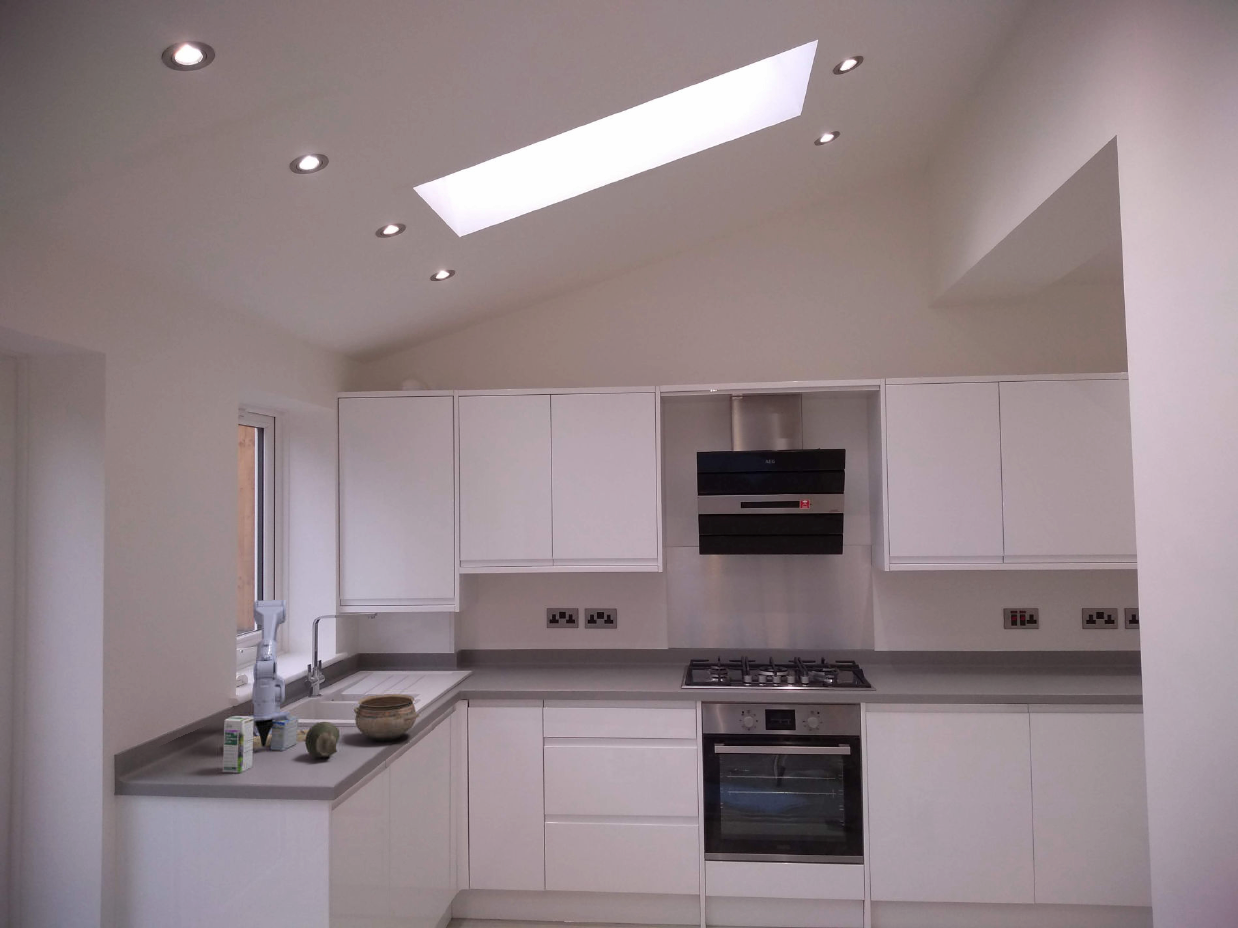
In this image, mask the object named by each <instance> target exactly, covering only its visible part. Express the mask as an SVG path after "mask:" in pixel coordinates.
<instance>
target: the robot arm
mask: <svg viewBox="0 0 1238 928" xmlns="http://www.w3.org/2000/svg"><path fill="white" fill-rule="evenodd" d="M253 619H254V622H255V624H256V625H260V626H261V640H260V641H259V642H258V643H257V647H256V656H255V657H256V658H255V662H254V664H253V672H252V674H253V675H252V676H253V681H254V682H253V684H252V692H251V693H252V694H251V698H252V699H251V701H252V702H251V703H252V704H253V707H254V708H253V709H254V710H253V714H250V715H249V714H248V715H246V717H253V716H254V720H253V724H254V725H255V726H254V727H253V734H255V735H256V737H258V736H260V738H261V745H262V746H263V747H266V746H265V745H266V740H267V737H268V735H272V726H273V721H275V720H279V719H290V716H291V712H290V711H289V710H286V711H281V704H282V703H284V702H285V697H286V695H285V694H286V693H285V692H286V685H285V682H286V681H285V680H284V678H283V676H281V675H279V674H278V660H277V650H278V629H279V627H280V625H282V624H284V623H285V622H286V619H287V600H286V599H285V598H283V599H272V600H258V599H257V600H255V601H254V602H253Z"/></svg>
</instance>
